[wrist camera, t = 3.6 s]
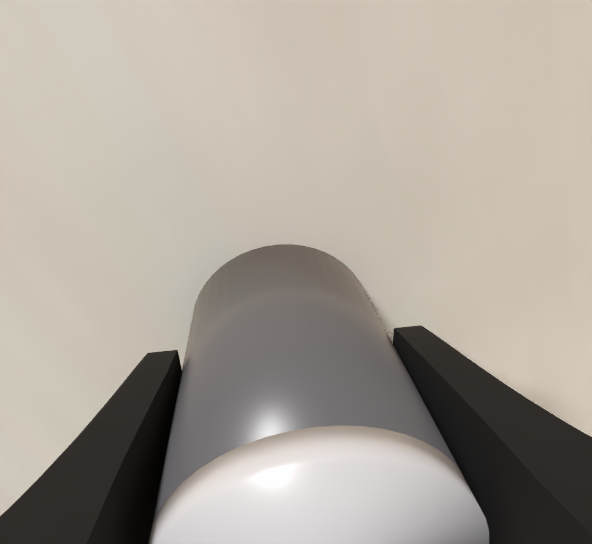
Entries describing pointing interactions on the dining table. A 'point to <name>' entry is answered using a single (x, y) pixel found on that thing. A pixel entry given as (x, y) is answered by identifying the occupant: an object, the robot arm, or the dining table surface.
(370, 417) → the white-capped gray cylinder
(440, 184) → the dining table surface
